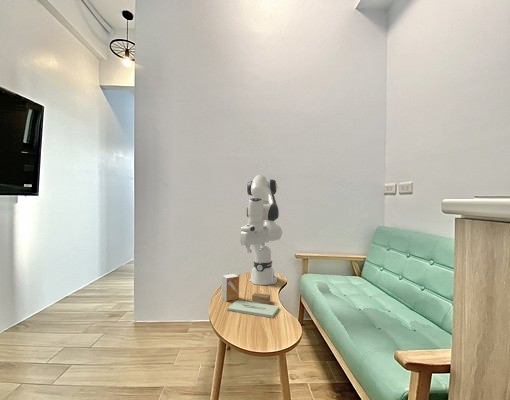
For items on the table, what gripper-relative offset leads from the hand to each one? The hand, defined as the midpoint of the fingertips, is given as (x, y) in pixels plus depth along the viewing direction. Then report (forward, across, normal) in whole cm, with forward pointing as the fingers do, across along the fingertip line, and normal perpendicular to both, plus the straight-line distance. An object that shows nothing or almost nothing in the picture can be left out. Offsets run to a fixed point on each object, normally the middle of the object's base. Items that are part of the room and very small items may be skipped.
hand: (255, 251), depth 164 cm
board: (+28, +10, +8) cm, 30 cm away
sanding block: (+28, -2, +3) cm, 28 cm away
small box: (+27, +8, -12) cm, 31 cm away
